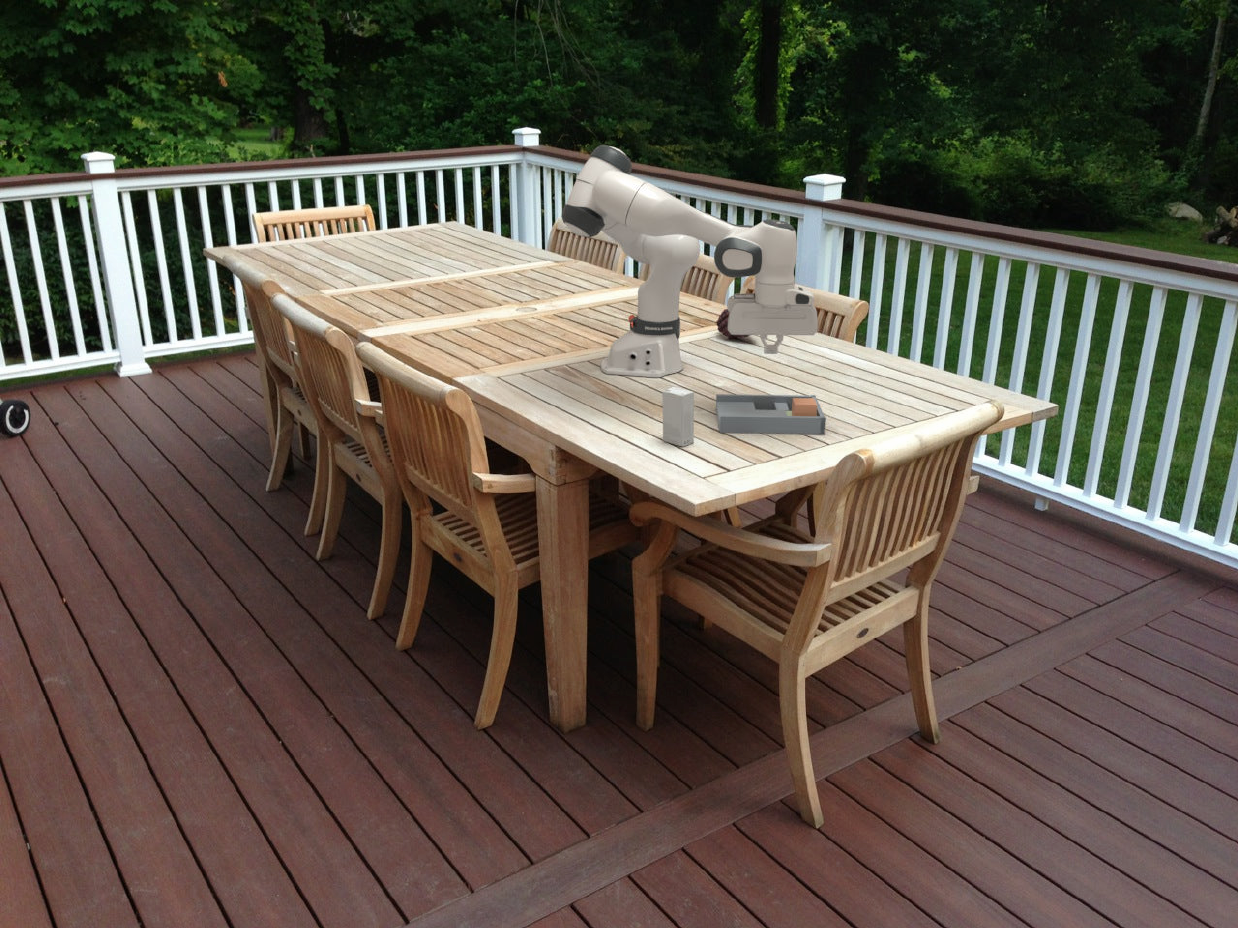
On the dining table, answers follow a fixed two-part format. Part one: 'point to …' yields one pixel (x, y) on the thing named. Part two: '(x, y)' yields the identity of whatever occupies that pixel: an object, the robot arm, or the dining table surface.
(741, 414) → the box
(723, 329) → the pine cone
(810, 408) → the block
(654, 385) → the dining table surface
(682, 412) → the skincare box
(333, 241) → the dining table surface
